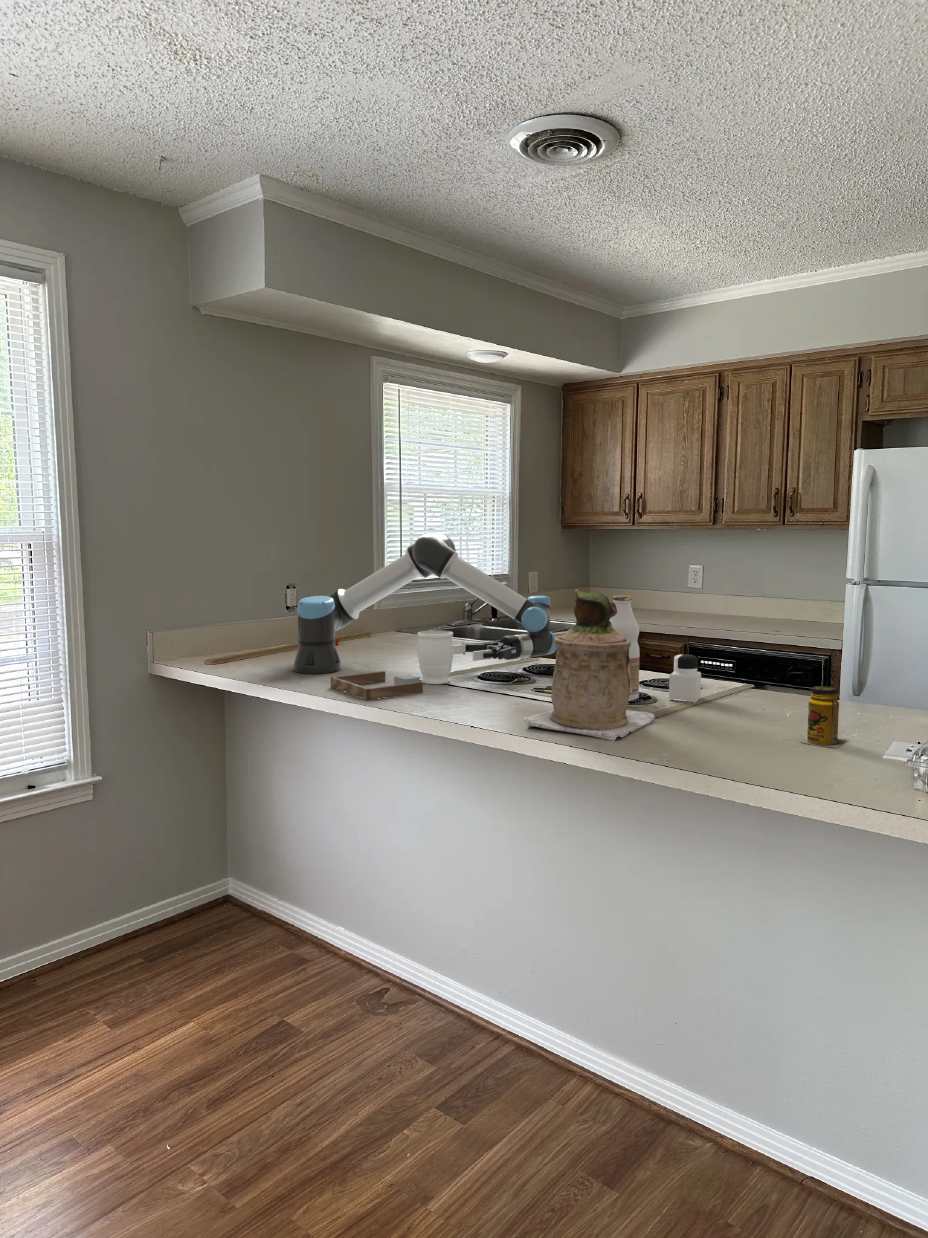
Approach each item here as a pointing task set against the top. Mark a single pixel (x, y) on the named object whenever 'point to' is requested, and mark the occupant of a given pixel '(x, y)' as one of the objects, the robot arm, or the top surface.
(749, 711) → the top surface
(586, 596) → the cookie jar
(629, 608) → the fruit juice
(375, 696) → the tray
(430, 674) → the jar
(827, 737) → the condiment
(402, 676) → the tile
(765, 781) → the top surface
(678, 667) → the medicine bottle
